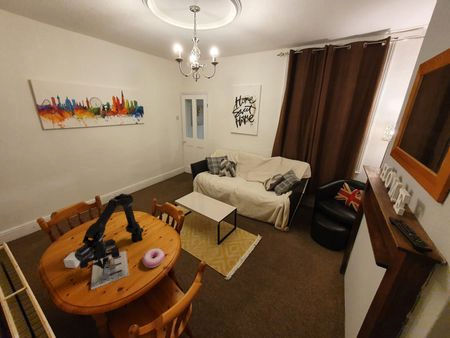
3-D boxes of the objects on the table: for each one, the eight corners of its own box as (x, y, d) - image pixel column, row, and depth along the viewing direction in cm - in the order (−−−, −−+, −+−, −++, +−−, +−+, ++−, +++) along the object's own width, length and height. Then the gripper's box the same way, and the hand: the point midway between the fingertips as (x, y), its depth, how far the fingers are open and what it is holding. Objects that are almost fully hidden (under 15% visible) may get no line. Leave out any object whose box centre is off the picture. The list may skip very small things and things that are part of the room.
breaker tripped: (115, 262, 111) (114, 257, 110) (115, 267, 108) (114, 262, 106) (109, 264, 109) (108, 259, 108) (109, 269, 106) (108, 264, 105)
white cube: (65, 267, 108) (63, 260, 106) (73, 259, 114) (71, 252, 112) (75, 268, 108) (73, 260, 106) (83, 259, 114) (81, 252, 112)
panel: (126, 252, 121) (126, 250, 121) (129, 275, 105) (128, 273, 105) (93, 262, 112) (93, 260, 112) (91, 289, 96) (90, 287, 96)
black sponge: (89, 260, 114) (88, 255, 113) (86, 253, 120) (84, 248, 118) (117, 247, 126) (116, 242, 124) (113, 241, 131) (112, 236, 130)
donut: (155, 272, 108) (154, 266, 106) (137, 265, 112) (136, 259, 110) (169, 256, 120) (168, 250, 118) (153, 250, 124) (152, 244, 122)
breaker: (109, 271, 105) (108, 267, 103) (109, 277, 101) (108, 272, 100) (103, 274, 103) (102, 269, 102) (103, 279, 100) (101, 274, 99)
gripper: (116, 233, 112) (120, 252, 117) (79, 243, 103) (85, 264, 108) (117, 244, 103) (121, 265, 108) (76, 257, 94) (83, 279, 99)
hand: (103, 267), depth 106 cm, fingers closed
